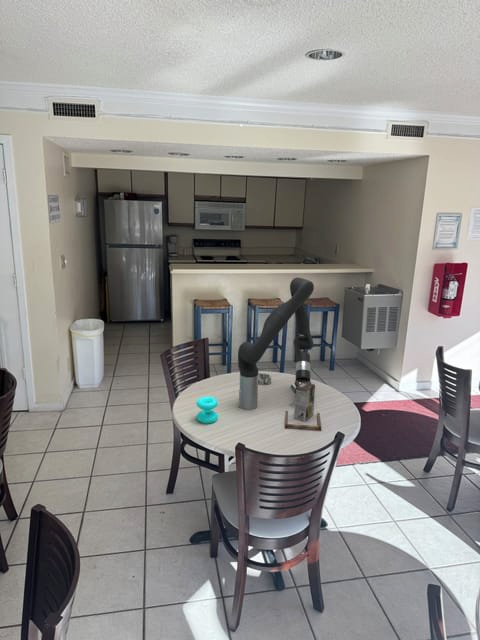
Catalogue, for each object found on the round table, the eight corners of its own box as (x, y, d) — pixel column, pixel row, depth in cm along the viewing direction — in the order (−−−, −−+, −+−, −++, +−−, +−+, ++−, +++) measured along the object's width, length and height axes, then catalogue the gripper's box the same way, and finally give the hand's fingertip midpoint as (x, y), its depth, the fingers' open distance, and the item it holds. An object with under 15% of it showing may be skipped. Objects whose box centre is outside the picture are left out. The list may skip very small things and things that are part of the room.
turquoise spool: (192, 401, 203) (204, 393, 212) (192, 421, 206) (204, 412, 214) (210, 406, 198) (221, 398, 207) (210, 426, 201) (221, 417, 209)
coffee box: (301, 411, 217) (303, 381, 213) (313, 414, 213) (315, 384, 209) (293, 418, 210) (294, 387, 205) (305, 422, 206) (307, 390, 202)
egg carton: (271, 385, 248) (271, 378, 247) (258, 385, 248) (258, 378, 247) (270, 378, 258) (270, 371, 257) (257, 378, 258) (257, 371, 257)
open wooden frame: (284, 428, 200) (285, 424, 200) (285, 414, 214) (285, 410, 213) (321, 430, 198) (321, 427, 198) (319, 416, 212) (319, 413, 211)
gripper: (290, 368, 222) (289, 400, 214) (316, 369, 221) (316, 402, 212) (289, 373, 229) (288, 405, 220) (315, 375, 227) (315, 407, 219)
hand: (302, 404), depth 216 cm, fingers closed
